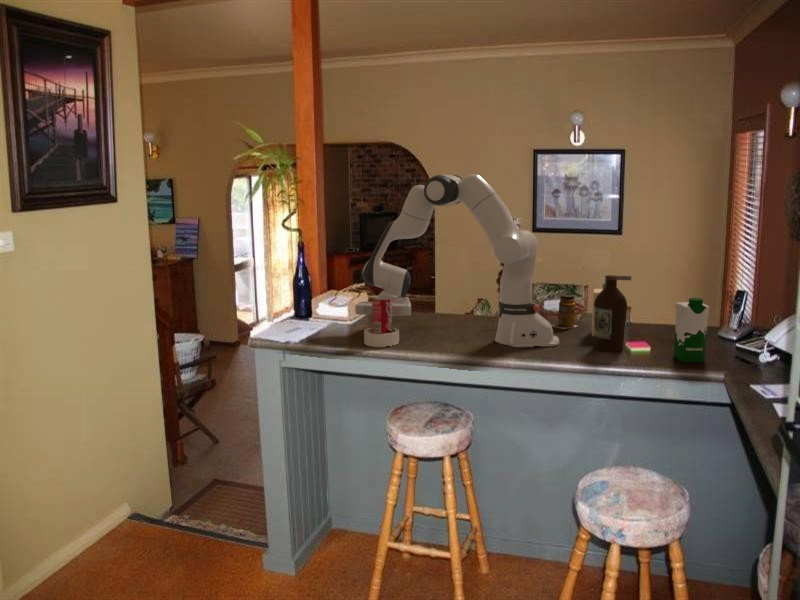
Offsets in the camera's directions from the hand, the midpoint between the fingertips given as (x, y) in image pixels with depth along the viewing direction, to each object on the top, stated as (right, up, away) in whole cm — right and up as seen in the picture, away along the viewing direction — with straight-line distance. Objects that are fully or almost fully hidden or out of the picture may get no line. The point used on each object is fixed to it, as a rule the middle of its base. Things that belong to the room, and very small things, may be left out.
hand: (380, 313), depth 249 cm
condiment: (+70, -6, +25) cm, 75 cm away
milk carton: (+99, -15, -22) cm, 103 cm away
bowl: (0, -11, +3) cm, 11 cm away
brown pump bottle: (+78, -12, -8) cm, 79 cm away
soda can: (0, -8, +1) cm, 8 cm away
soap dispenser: (+84, -8, +11) cm, 85 cm away
